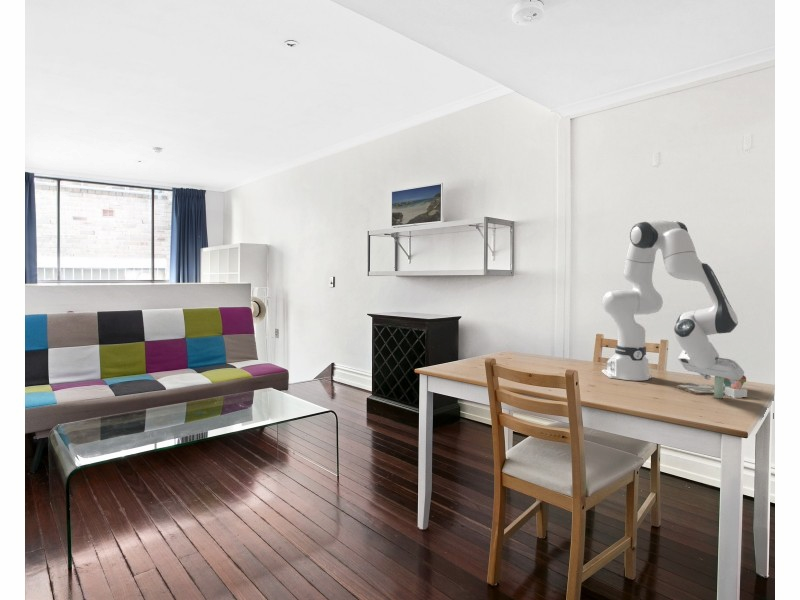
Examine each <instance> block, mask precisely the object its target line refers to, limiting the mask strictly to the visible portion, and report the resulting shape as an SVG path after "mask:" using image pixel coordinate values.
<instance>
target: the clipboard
mask: <svg viewBox="0 0 800 600" xmlns="http://www.w3.org/2000/svg"><path fill="white" fill-rule="evenodd" d="M674 388H677V389H679V388H680V389H679V390H682V391H684V392H687V391H688V392H687V393H691V394H693V395H697V394H702V395H714V386H712V385H710V384H697V383H694V382H685V384H678V385H677V384H676V385H674ZM724 393H725V389H723V395H724Z"/></svg>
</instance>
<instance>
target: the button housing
mask: <svg viewBox="0 0 800 600" xmlns="http://www.w3.org/2000/svg"><path fill="white" fill-rule="evenodd" d="M724 390H725V393H724V394H725V396H727V395H728V396H727V397H730V396H731V398H734V399H735V398H737V399H738V398H739V399H743V398H742V397H747V398H748V389H747V388H744V387H741V389H732V388H731V387H725V386H724ZM724 394H723V395H724Z"/></svg>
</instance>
